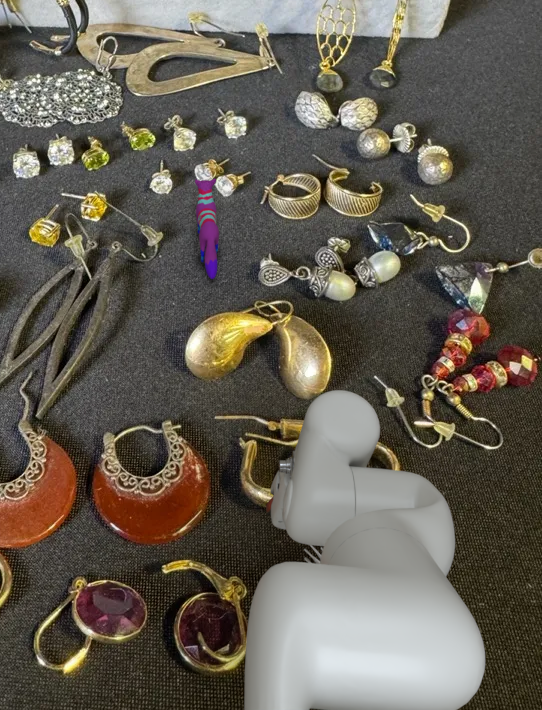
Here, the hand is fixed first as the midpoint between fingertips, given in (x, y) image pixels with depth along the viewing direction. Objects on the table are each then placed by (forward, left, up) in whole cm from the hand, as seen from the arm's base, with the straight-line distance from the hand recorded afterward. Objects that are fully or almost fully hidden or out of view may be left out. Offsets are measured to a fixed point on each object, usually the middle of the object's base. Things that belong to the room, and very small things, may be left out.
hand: (302, 529), depth 103 cm
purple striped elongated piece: (+54, +12, -7) cm, 55 cm away
